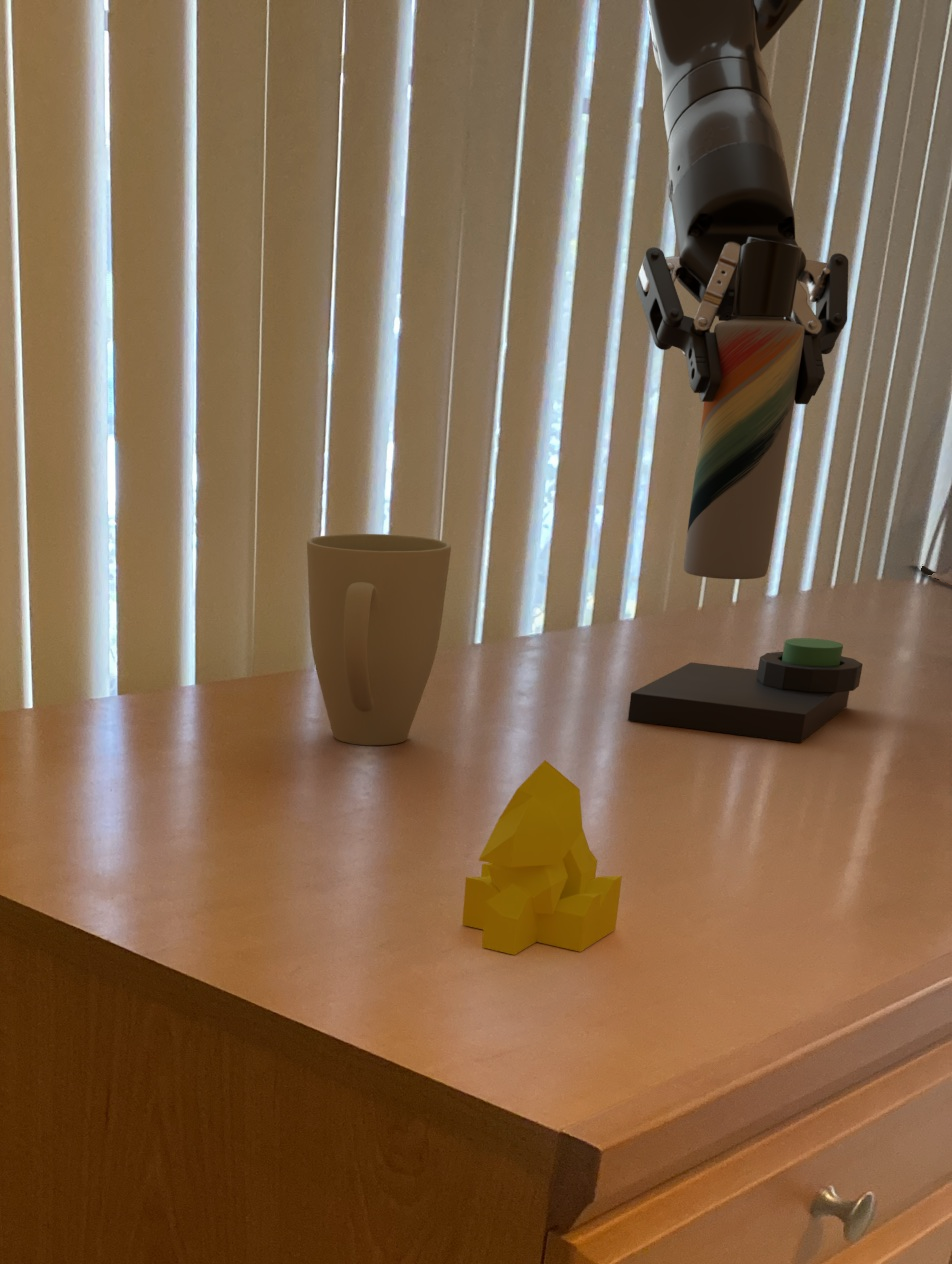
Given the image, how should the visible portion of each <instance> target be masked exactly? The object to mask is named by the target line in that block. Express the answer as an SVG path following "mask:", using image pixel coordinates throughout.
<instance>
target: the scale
mask: <svg viewBox="0 0 952 1264" xmlns="http://www.w3.org/2000/svg"><path fill="white" fill-rule="evenodd" d="M782 656H783V651H776V652H767V653H765V654H763V655H761V656H760V657H759V660H758V667H757V669H753V668H752V669H751V668H744V667H735V666H725V665H716V664H708V663H701V662H689V663H687V664H685V665H683V666H681V667H679V668H676V669H675V670H673V671H671V672H670V673H667V674H665V675H663V676H661V677H660V678H658V679H655V680H654V681H652V682H650V683H648V684H646V685H644V686H641V687H640V688H638V689H636V690H634V691H632V692H631V693H630V698H629V706H628V707H629V708H628V716H627V721H630V722H637V723H645V724H652V725H660V726H667V727H674V728H683V729H689V730H690V729H691V730H698V731H705V732H714V733H720V734H729V735H735V736H744V737H751V738H759V739H766V740H773V741H783V742H787V743H789V742H790V743H797V744H801V743H802V742H804V741H805V740H806V739H808V737H810V736H811V735H813V734H814V733H815V732H816V731H818V730H819V729H820V728H821V727H823V726H824V725H825V724H826V723H828V722H830V721H831V720H832V719H833V718H834V717H836V716H837V715H838V714H840V713H841V712H842V711H843V710H844V709H846V708H847V707H848V701H849V696H850V692H852V691H855V690H856V689H857V688H859V686H860V682H861V677H862V671H863V663H862V662H860V661H858V660H857V659H855V658H851V657H847V656H843V655H841V660H840V665H839V666H806V665H797V664H792V663H788V662H783V661H782Z"/></svg>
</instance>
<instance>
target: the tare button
mask: <svg viewBox="0 0 952 1264" xmlns="http://www.w3.org/2000/svg"><path fill="white" fill-rule="evenodd" d="M843 648H844V644H843V643H841V642H838V641H835V640H829V639H823V638H811V637H797V638H794V637H793V638H789V639H788V638H787V639H785V640H784V645H783V651H782V652H783V656H782V661H783V662H788V663H792V664H797V665H806V666H839V665H840V660H841V656H842V655H843V654H842V653H843Z"/></svg>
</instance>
